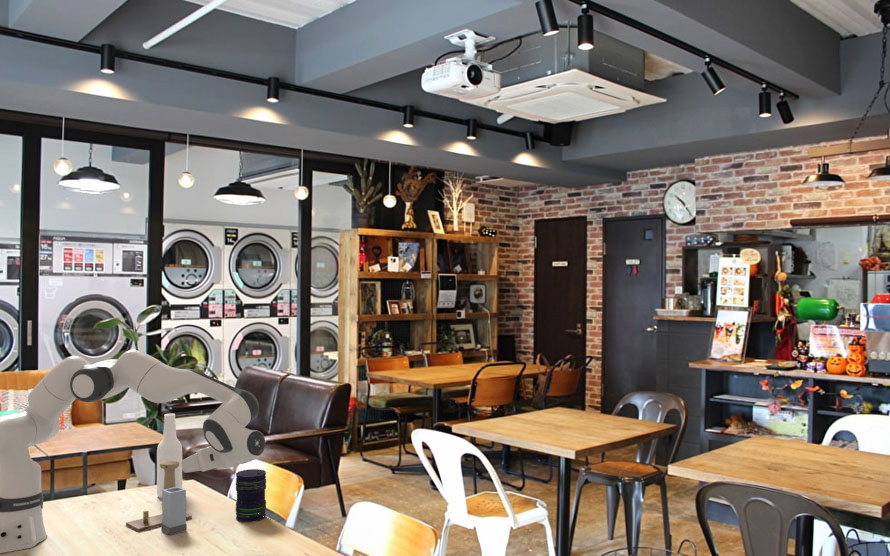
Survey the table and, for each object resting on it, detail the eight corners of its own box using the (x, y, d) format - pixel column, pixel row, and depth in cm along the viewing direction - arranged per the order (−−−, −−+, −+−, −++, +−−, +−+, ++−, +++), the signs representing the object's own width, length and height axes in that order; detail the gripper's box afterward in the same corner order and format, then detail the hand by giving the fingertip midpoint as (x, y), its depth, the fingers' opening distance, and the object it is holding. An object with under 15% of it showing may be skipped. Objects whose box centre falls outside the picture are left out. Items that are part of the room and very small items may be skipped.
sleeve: (169, 535, 229) (169, 493, 229) (161, 531, 233) (161, 489, 233) (186, 530, 233) (186, 489, 233) (178, 527, 237) (178, 486, 237)
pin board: (138, 531, 232) (138, 517, 232) (125, 525, 238) (125, 511, 238) (191, 518, 245) (191, 505, 245) (178, 513, 251) (178, 499, 251)
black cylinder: (229, 520, 243) (229, 475, 243) (246, 512, 252) (246, 468, 253) (255, 523, 240) (255, 477, 240) (271, 514, 249) (272, 470, 249)
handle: (164, 503, 263) (164, 461, 263) (181, 503, 262) (181, 461, 262) (157, 507, 258) (157, 464, 258) (175, 507, 257) (175, 464, 257)
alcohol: (153, 499, 268) (153, 416, 268) (160, 492, 276) (161, 412, 277) (178, 498, 268) (178, 416, 269) (184, 492, 277) (185, 412, 278)
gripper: (252, 435, 230) (227, 444, 238) (194, 451, 214) (170, 459, 222) (257, 455, 229) (232, 463, 237) (199, 472, 213) (175, 480, 221)
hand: (201, 461), depth 229 cm, fingers open, 8 cm apart
